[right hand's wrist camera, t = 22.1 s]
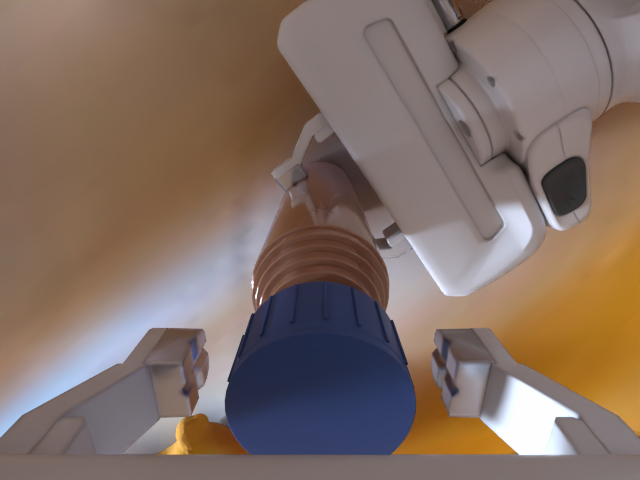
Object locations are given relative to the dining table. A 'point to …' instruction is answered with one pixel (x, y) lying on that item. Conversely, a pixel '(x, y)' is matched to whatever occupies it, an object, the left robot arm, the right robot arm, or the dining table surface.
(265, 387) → the cap
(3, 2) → the dining table surface
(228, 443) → the toy
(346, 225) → the bottle
